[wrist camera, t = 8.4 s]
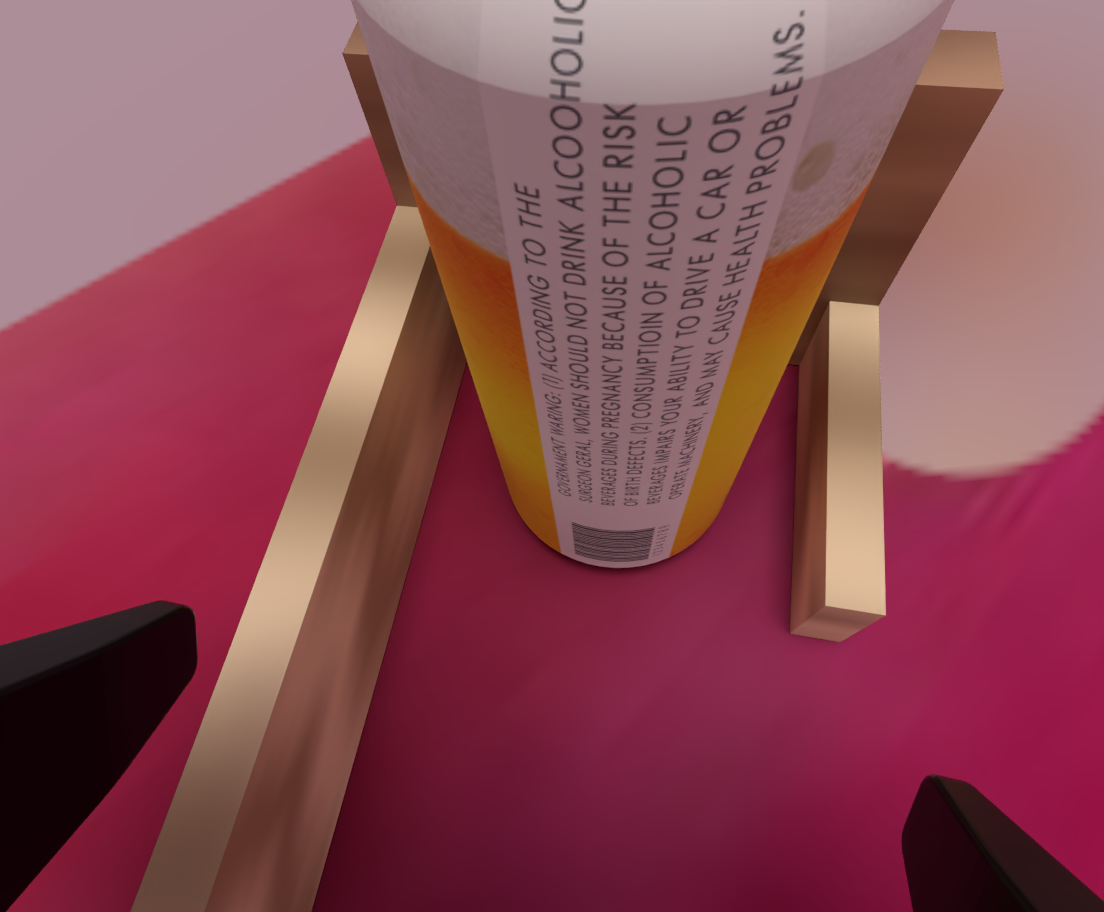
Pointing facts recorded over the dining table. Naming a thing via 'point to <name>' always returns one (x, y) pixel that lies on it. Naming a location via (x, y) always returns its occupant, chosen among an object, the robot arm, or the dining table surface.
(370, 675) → the shelf
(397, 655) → the dining table surface
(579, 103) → the beer can
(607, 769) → the dining table surface
